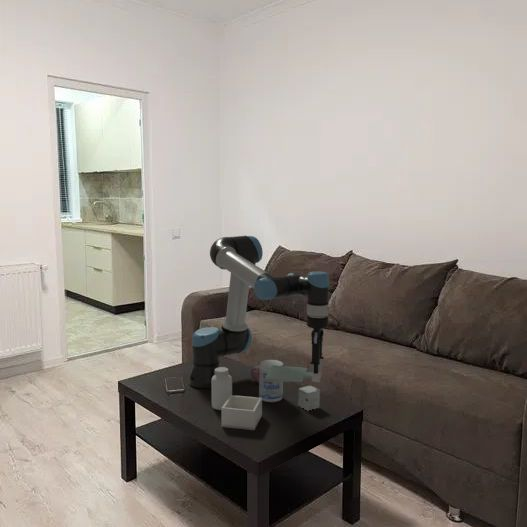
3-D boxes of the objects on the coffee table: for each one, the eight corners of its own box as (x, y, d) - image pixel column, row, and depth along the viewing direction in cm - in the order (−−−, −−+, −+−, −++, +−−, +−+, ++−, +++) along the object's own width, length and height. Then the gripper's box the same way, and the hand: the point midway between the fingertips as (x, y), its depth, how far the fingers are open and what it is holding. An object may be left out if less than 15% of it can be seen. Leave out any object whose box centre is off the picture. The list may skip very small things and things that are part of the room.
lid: (272, 369, 196) (272, 351, 195) (320, 373, 192) (321, 355, 191) (265, 381, 183) (265, 362, 182) (316, 386, 179) (317, 366, 178)
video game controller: (260, 379, 234) (254, 365, 234) (269, 375, 233) (262, 361, 233) (254, 387, 225) (247, 372, 225) (263, 383, 224) (256, 368, 224)
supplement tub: (263, 404, 203) (263, 368, 201) (256, 395, 212) (256, 360, 210) (286, 401, 206) (286, 365, 204) (278, 392, 215) (278, 358, 213)
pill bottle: (212, 411, 196) (211, 373, 194) (211, 402, 204) (210, 366, 202) (233, 409, 197) (233, 372, 195) (231, 401, 205) (231, 365, 203)
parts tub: (230, 412, 195) (230, 395, 194) (261, 415, 192) (262, 397, 191) (221, 426, 183) (221, 408, 182) (254, 430, 181) (254, 411, 180)
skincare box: (297, 406, 201) (298, 388, 200) (309, 402, 205) (310, 384, 204) (307, 411, 196) (308, 393, 195) (320, 407, 200) (320, 389, 199)
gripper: (326, 322, 174) (324, 388, 177) (330, 310, 190) (329, 372, 193) (303, 320, 175) (303, 387, 178) (310, 309, 192) (309, 370, 195)
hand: (316, 379), depth 186 cm, fingers closed on lid, 4 cm apart
